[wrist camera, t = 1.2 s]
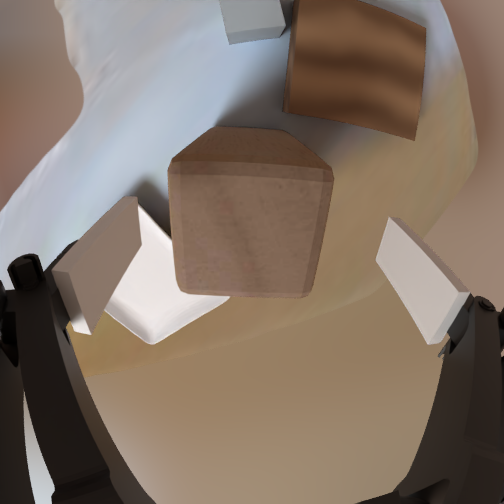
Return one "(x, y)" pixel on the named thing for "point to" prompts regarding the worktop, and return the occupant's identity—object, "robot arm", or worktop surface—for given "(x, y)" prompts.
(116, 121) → the worktop surface
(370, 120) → the plinth
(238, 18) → the slate cube
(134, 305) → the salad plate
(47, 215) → the worktop surface
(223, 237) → the block
